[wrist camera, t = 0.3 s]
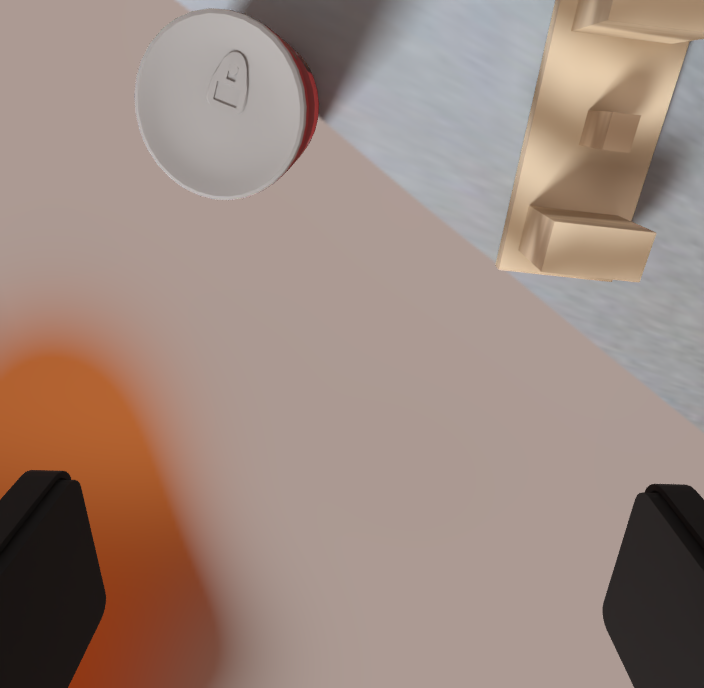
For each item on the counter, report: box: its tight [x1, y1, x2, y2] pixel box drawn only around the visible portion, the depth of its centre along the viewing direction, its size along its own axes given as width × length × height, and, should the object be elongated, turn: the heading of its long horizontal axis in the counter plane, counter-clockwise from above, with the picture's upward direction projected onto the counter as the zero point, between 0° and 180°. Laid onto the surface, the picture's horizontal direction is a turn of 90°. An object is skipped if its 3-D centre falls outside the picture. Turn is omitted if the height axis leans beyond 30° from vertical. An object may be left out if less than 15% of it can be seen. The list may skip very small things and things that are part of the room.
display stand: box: [495, 0, 704, 282], centre depth 32 cm, size 19×8×6 cm, turn 174°
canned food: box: [134, 8, 319, 200], centre depth 29 cm, size 8×8×11 cm
